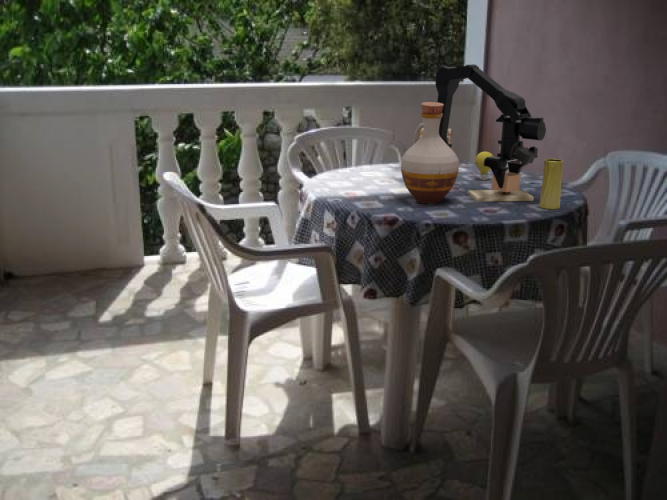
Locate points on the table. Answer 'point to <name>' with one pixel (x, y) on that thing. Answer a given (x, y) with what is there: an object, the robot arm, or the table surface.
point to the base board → (499, 195)
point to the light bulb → (482, 164)
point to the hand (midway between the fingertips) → (506, 186)
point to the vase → (551, 184)
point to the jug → (429, 160)
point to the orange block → (508, 182)
